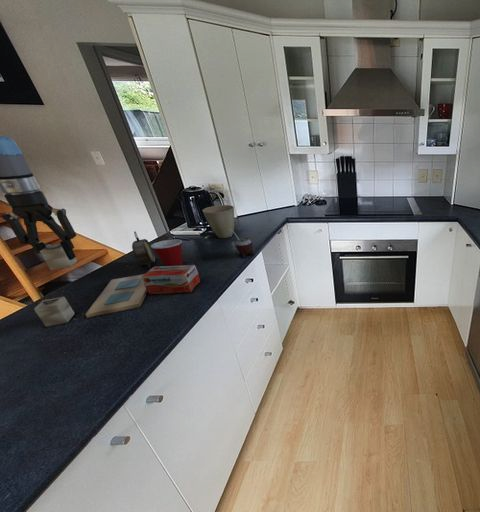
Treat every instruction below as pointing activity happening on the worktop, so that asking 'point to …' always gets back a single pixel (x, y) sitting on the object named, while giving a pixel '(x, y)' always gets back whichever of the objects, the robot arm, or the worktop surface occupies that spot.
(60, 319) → the tile
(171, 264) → the plastic cup
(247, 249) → the mate gourd
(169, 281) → the medicine box
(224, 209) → the plant pot
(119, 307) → the beige flat board
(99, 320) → the worktop surface
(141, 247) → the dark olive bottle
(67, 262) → the tile
